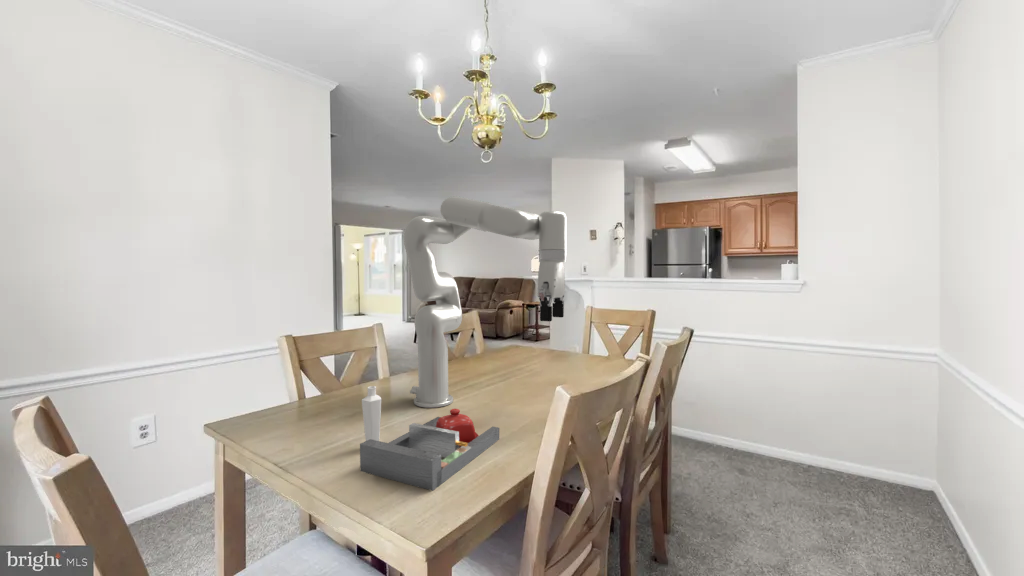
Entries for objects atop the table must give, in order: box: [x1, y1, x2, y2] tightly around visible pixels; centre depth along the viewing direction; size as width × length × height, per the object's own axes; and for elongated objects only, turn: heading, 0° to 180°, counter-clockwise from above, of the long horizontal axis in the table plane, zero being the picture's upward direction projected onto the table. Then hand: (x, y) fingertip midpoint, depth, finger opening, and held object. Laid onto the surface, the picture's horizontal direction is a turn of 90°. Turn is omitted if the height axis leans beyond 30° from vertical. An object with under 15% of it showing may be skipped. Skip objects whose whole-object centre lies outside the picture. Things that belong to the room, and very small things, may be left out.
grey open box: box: [359, 416, 500, 492], centre depth 103 cm, size 19×28×6 cm, turn 154°
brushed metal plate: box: [408, 422, 468, 459], centre depth 102 cm, size 16×2×6 cm, turn 64°
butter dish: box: [436, 408, 480, 448], centre depth 111 cm, size 12×12×8 cm
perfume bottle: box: [361, 385, 382, 441], centre depth 106 cm, size 5×4×15 cm
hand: (552, 319), depth 121 cm, fingers open, 9 cm apart
